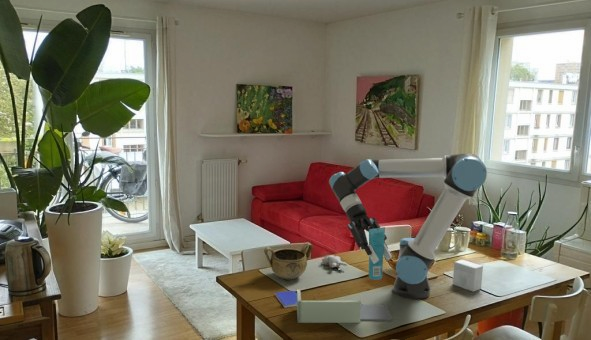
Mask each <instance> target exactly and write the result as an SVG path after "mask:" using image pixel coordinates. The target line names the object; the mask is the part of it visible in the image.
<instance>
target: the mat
mask: <svg viewBox="0 0 591 340" xmlns="http://www.w3.org/2000/svg"><path fill="white" fill-rule="evenodd" d="M393 320H394V319H393V317H392V314H391V312H390V311H389V308H388V306H387V305H386V304H361V313H360V322H361V321H362V322H363V321H365V322H366V321H367V322H368V321H369V322H373V321H375V322H376V321H377V322H380V321H381V322H382V321H385V322H387V321H388V322H390V321H393Z"/></svg>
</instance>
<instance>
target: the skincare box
mask: <svg viewBox="0 0 591 340" xmlns="http://www.w3.org/2000/svg"><path fill="white" fill-rule="evenodd" d="M483 269H484V266H483V265H481V264H477V263H475V262H471V261H468V260H465V259H459V260H457V261H454V262H453V278H452V285H454V286H457V287H460V288H461V289H465V290H467V291H471V292H476V291H478V290H481V289H482V283H483V282H482V281H483V272H484V271H483Z"/></svg>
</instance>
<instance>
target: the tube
mask: <svg viewBox="0 0 591 340" xmlns="http://www.w3.org/2000/svg"><path fill="white" fill-rule="evenodd" d="M385 232H386V227H385V226H382V227H380V228H376V229H369V232H368V245H371V246H372V248H373V250H374V252H375V254H376V255H377V257H378V259H379V261H378V262H376V263H375V264H373V262H372V260H371V258H370V256H369V255H368V278H369V279H371V280H377V281H378V280H382V279H383V263H384V255H383V250H384V235H386V234H385Z"/></svg>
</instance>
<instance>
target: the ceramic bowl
mask: <svg viewBox="0 0 591 340" xmlns="http://www.w3.org/2000/svg"><path fill="white" fill-rule="evenodd" d="M313 248H314V246H313V244H311V242H309V241H308V242H305V243H304V244H303V246H302V247H301V250H300V249H296V248H278V249H276V250H273V249H272V248H271V247H269V246H267V247H265V248H264V251H263V252H264V255H265V258H266V259H267V262H268V264H269V266H270V268H271V270H272V272H273V274H275V276H276V277H278V278H280V279H283V280H294V279H297V278H300V277H301V276H302V275H303V274H304V273H305V271H306V269H307V268H308V267H307V265H308V260H309V257H310V256H311V253H312V251H313ZM268 251H270V252H271V255H270V257H269V253H268Z"/></svg>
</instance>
